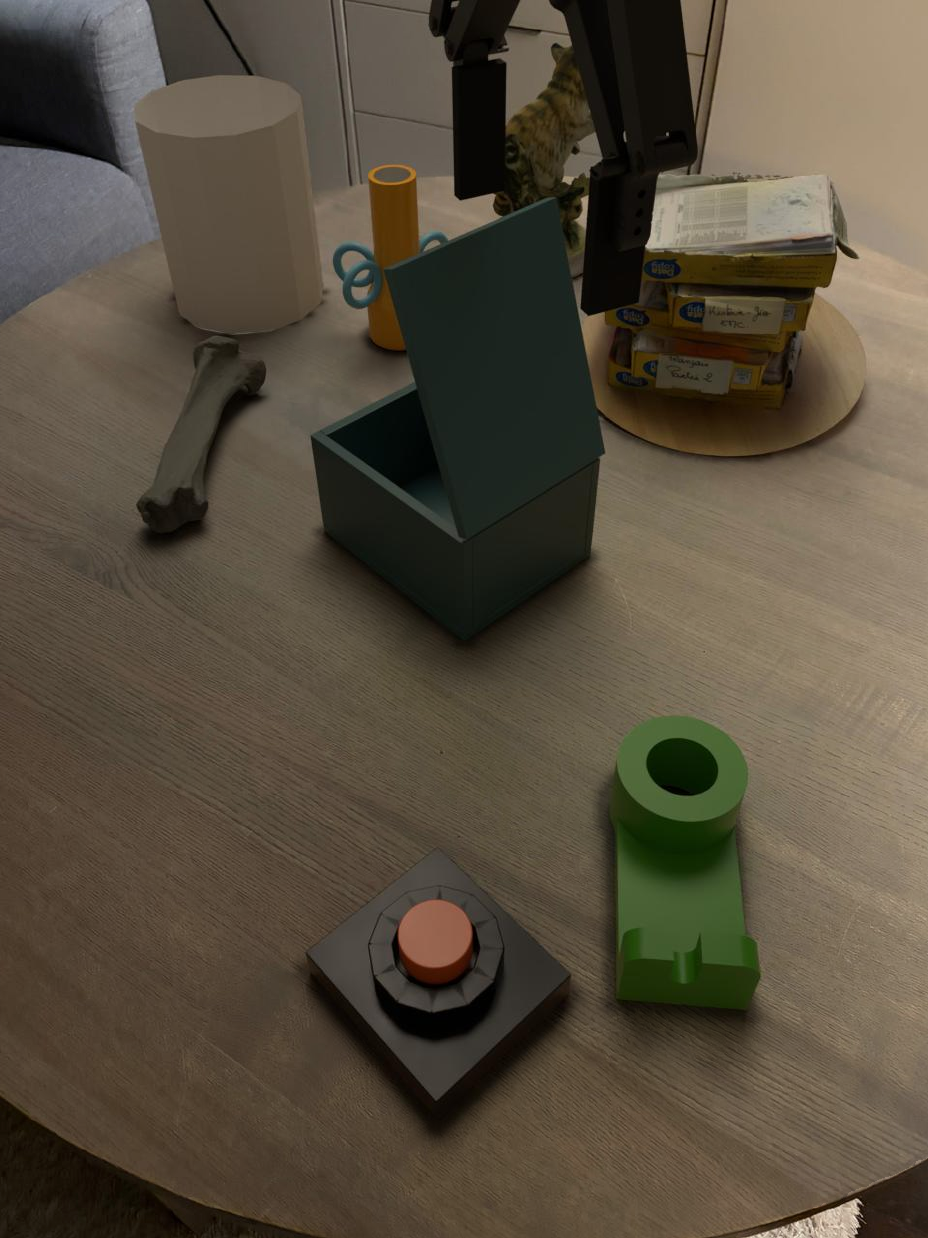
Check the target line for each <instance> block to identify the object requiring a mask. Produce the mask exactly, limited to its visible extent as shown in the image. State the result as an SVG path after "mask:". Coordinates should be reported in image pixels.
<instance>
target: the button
mask: <svg viewBox="0 0 928 1238" xmlns="http://www.w3.org/2000/svg"><path fill="white" fill-rule="evenodd" d="M398 944H399V953H400V959H401V962H402V964H403V966H404V968H405V970H406V971H407V972H408V973H409V974H410V975H411V976H412V977H413V978H415V979H416V980H418V981H420V982H423V983H427V984H433V985H436V984H444V983H448V982H450V981H453V980H454V979H456V978H458V977H459V976H460V975H461V974H462V973H463V972H464V971H465V970H466V969H467V967H468V966H469V964H470V961H471V959H472V954H473V930H472V925H471V922H470V920H469V918H468V916H467V915H466V913H465V912H464V911H463V910H462V909H461V908H460V907H458V906H457V905H455V904H453V903H451V902H449V901H445V900H438V899H434V900H427V901H423V902H421V903H418V904H417V905H415V906H413V907H412V908H411V909H410V910H409V911H407V913H406V914H405V915H404V916H403V918H402V920H401V922H400V924H399V928H398Z"/></svg>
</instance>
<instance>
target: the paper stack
mask: <svg viewBox="0 0 928 1238" xmlns="http://www.w3.org/2000/svg"><path fill="white" fill-rule="evenodd" d="M736 174H737V175H736ZM735 175H736V178H735ZM714 177H715V178H714ZM764 177H765V178H768V179H767V180H766V179H765V180H760V179H764ZM772 177H773V178H771V175H770V174H766V175H764V176H763V175H761V174H755V175H754V176H752V175H751V174H747V175H745V176H743V175H741V172H738V173H737V172H735V171H733V172H732V175H724V176H723V175H719V176H717V175H715V174H711V175H705V174H701V173H700V174H691V175H690V174H688V175H687V174H681V175H676V174H670V173H667V174H664V172H661V173H660V174H659V175H658V179H657V185H656V193H655V202H654V210H653V213H652V214H653V219H652V222H651V223H652V227H651V235H650V238H649V240H648V243H647V245H645V254H644V262H643V271H642V280H641V288H640V297H639V303H636V304H632V305H628V306H625V307H621V308H617V309H613V310H610V311H606V312H602V313H599V314H595V315H591V316H588V315H586V317H585V319H584V320H583V322H582V324H581V328H582V334H583V339H584V344H585V349H586V354H587V360H588V365H589V370H590V375H591V380H592V386H593V391H594V396H595V401H596V406H597V410H599V411H600V412H601V413H602V414H603V415H604V416H606V418H608V419H609V420H610V421H612V422H613V423H614V424H616V425H617V426H619V427H620V428H622V429H624V430H625V431H627V432H629V433H631V434H633V435H634V436H637V437H639V438H641V439H643V440H645V441H648V442H650V443H653V444H655V445H658V446H662V447H665V448H668V449H672V450H676V451H679V452H685V453H691V454H695V455H696V454H697V455H704V456H717V457H742V456H743V457H747V456H755V455H763V454H768V453H775V452H779V451H783V450H786V449H790V448H792V447H795V446H798V445H801V444H804V443H806V442H808V441H810V440H812V439H815V438H817V437H818V436H820V435H822V434H824V433H826V432H827V431H829V430H831V428H832V429H833V427H834V426H836V425H838V423H839V422H841V421H842V420H843V419H844V418H845V417H846V416H847V415H848V414H849V413H850V411H851V410H852V409H853V408H854V406H855V405H856V403H857V402H858V400H859V398H860V397H861V395H862V392H863V389H864V386H865V384H866V379H867V378H866V377H867V370H868V369H867V358H866V352H865V349H864V346H863V343H862V340H861V338H860V337H859V334H858V332H857V331H856V330H855V328H854V326H853V325H852V323H851V322H850V321H849V320H848V319H847V318H846V317H845V315H844V314H843V313H842V312H841V311H840V310H839V309H837V307H835V305H833V304H831V303H830V302H829V301H828V300H826V299H825V298H824V297H823V296H821V295H819V294H818V293H816V289H817V288H821V289H827V288H829V287H830V285H831V283H832V280H833V277H834V271H835V270H836V269H835V268H836V264H837V261H838V249H839V250H840V252H841V253H842V254H843V255H845V256H846V257H848V258H850V259H853V260H859V259H860V256H859V254H858V253H857V252H856V251H855V249H853V248H852V247H851V246H850V244H849V239H848V223H847V220H846V217H845V215H844V212H843V208H842V205H841V202H840V199H839V197H838V194H837V193H836V189H835V185H834V182H833V181H832V180H830V178H829V176H828V175H827V174H822V173H818V174H812V175H801V176H800V175H798V176H783V177H782V176H781V175H778V174H776V175H774V174H773V175H772ZM755 179H756V180H755ZM758 179H759V180H758ZM750 180H751V181H750Z"/></svg>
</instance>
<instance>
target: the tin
mask: <svg viewBox="0 0 928 1238" xmlns="http://www.w3.org/2000/svg"><path fill="white" fill-rule="evenodd" d="M310 442H311V450H312V456H313V457H312V458H313V463H314V471H315V478H316V485H317V490H318V491H317V492H318V498H319V504H320V506H319V507H320V512H321V520H322V525H323V531H324V532H325V533H326V534H327V535H329V536H330V537H331V538H333V540H335V542H338V543H339V544H340V545H342V546H343V547H344V548H345V549H347V550H348V551H349V552H350V553H352V554H353V555H354V556H355V557H356V558H358V559H359V560H360V561H362V562H363V563H364V564H366V565H367V566H368V567H369V568H371V569H372V570H373V571H375V573H377V574H378V575H380V576H381V577H382V578H383V579H384V580H386V581H387V582H388V583H389V584H391V585H392V586H394V587H395V588H396V589H397V590H399V591H400V592H401V593H402V594H403V595H405V596H406V597H407V598H408V599H410V600H411V601H412V602H413V603H415V604H416V605H418V606H419V607H420V608H421V609H423V610H424V611H425V612H426V613H428V614H429V615H431V616H432V617H433V618H434V619H435V620H437V621H438V622H439V623H440V624H442V625H443V627H446V629H448V630H449V631H451V632H452V633H453V634H454V635H456V636H457V637H458V638H460V639H461V640H462V641H467V640H469V639H470V638H471V637H473V636H474V635H476V634H477V633H478V632H480V631H481V630H483V629H484V628H487V627H488V626H490V625H491V623H493V622H495V621H497V620H498V619H499V618H501V617H502V616H504V615H505V614H507V613H508V612H509V611H511V610H512V609H513V608H515V607H517V606H518V605H519V604H521V603H523V602H524V601H525V600H527V599H529V598H530V597H531V596H533V595H534V594H537V592H539V591H540V590H541V589H543V588H545V587H546V586H547V585H549V584H550V583H552V582H553V581H555V580H556V579H557V578H559V577H561V576H562V575H564V574H565V573H566V572H568V571H570V570H571V569H573V568H574V567H575V566H577V565H578V564H580V563H582V561H584V560H585V559H587V558H588V557H590V556H591V554H592V546H593V536H594V525H595V516H596V508H597V507H596V505H597V496H598V488H599V487H598V486H599V477H600V476H599V475H600V467H601V465H600V464H601V457H599V458H597V459H596V460H594V461H592V462H591V463H589V464H588V465H586V466H584V467H583V468H581V469H580V470H578V471H576V472H575V473H573V474H571V475H570V476H568V477H567V478H565V479H563V480H562V481H560V482H559V483H557V484H555V485H554V486H552V487H551V488H549V489H547V490H546V491H544V492H543V493H541V494H539V495H538V496H536V497H535V498H533V499H531V500H530V501H528V502H527V503H525V504H523V505H522V506H520V507H518V508H517V509H515V510H514V511H512V512H510V513H509V514H507V515H506V516H504V517H502V518H501V519H499V520H498V521H496V522H494V523H493V524H491V525H490V526H488V527H486V528H485V529H483V530H482V531H480V532H478V533H477V534H475V535H474V536H472V537H470V538H469V539H467V540H466V539H463V538H459V536H458V533H457V529H456V526H455V522H454V519H453V515H452V511H451V508H450V504H449V501H448V497H447V494H446V490H445V487H444V483H443V479H442V476H441V472H440V469H439V465H438V462H437V458H436V455H435V451H434V447H433V444H432V440H431V437H430V433H429V430H428V426H427V423H426V419H425V415H424V412H423V408H422V405H421V401H420V398H419V394H418V391H417V387H416V383H415V381H413V382H411V383H409V384H408V385H406V386H404V387H402V388H400V389H398V390H396V391H394V392H392V393H390V394H388V395H387V396H385V397H383V398H381V399H378V400H376V401H375V402H372V403H371V404H369V405H366V406H365V407H363V408H360V409H358V410H357V411H355V412H353V413H351V414H349V415H346V416H345V417H343V418H340V419H339V420H338V421H335V422H333V423H331V424H329V425H327V426H326V427H324V428H321V429H320V430H318V431H316V432H313V433H312V434H310Z"/></svg>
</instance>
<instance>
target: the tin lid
mask: <svg viewBox="0 0 928 1238" xmlns="http://www.w3.org/2000/svg"><path fill="white" fill-rule="evenodd" d="M501 217H502V218H501ZM501 217H499V218H497V219H495V220H493V221H490V222H488V223H486V224H483V225H481V226H479V227H477V228H474V229H472V230H469V231H467V232H465V233H463V234H460V235H458V236H455V237H454V238H452V239H448V241H447V242H444V243H442V244H437V245H435V246H432V247H431V248H428V249H426V250H424V251H423V252H421V253H419V254H417V255H415V256H412V257H410V258H408V259H405V260H403V261H401V262H398V263H396V264H394V265H392V266H389V267H387V268H385V269H384V273H385V277H386V280H387V284H388V287H389V291H390V295H391V298H392V302H393V305H394V309H395V312H396V316H397V319H398V323H399V327H400V330H401V334H402V337H403V341H404V344H405V348H406V350H405V351H406V354H407V358H408V362H409V366H410V369H411V373H412V376H413V381H414V382H415V383H416V387H417V391H418V394H419V398H420V401H421V405H422V408H423V412H424V415H425V419H426V423H427V426H428V430H429V433H430V437H431V440H432V444H433V447H434V451H435V455H436V458H437V462H438V465H439V469H440V472H441V476H442V479H443V483H444V487H445V490H446V494H447V497H448V501H449V504H450V508H451V511H452V515H453V519H454V522H455V526H456V529H457V533H458V536H459V538H463V539H466V540H467V539H469V538H470V537H472V536H474V535H475V534H477V533H478V532H480V531H482V530H483V529H485V528H486V527H488V526H490V525H491V524H493V523H494V522H496V521H498V520H499V519H501V518H502V517H504V516H506V515H507V514H509V513H510V512H512V511H514V510H515V509H517V508H518V507H520V506H522V505H523V504H525V503H527V502H528V501H530V500H531V499H533V498H535V497H536V496H538V495H539V494H541V493H543V492H544V491H546V490H547V489H549V488H551V487H552V486H554V485H555V484H557V483H559V482H560V481H562V480H563V479H565V478H567V477H568V476H570V475H571V474H573V473H575V472H576V471H578V470H580V469H581V468H583V467H584V466H586V465H588V464H589V463H591V462H592V461H594V460H596V459H597V458H601V457H603V455H605V454H606V449H605V444H604V439H603V434H602V428H601V423H600V418H599V413H598V412H599V411H598V408H597V406H596V401H595V396H594V391H593V386H592V380H591V375H590V370H589V365H588V360H587V354H586V349H585V344H584V339H583V334H582V328H581V326H582V324H581V319H580V314H579V308H578V303H577V297H576V292H575V288H574V283H573V282H574V281H573V277H572V276H571V271H570V266H569V261H568V256H567V250H566V245H565V240H564V235H563V230H562V224H561V219H560V214H559V209H558V204H557V198H556V197H549V198H545V199H543V200H541V201H538V202H536V203H534V204H531V205H529V206H527V207H525V208H522V209H520V210H518V211H515V212H513V213H511V214H508V215H506V216H504V217H503V216H501Z"/></svg>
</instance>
